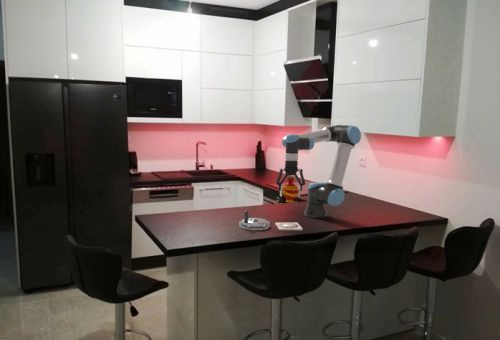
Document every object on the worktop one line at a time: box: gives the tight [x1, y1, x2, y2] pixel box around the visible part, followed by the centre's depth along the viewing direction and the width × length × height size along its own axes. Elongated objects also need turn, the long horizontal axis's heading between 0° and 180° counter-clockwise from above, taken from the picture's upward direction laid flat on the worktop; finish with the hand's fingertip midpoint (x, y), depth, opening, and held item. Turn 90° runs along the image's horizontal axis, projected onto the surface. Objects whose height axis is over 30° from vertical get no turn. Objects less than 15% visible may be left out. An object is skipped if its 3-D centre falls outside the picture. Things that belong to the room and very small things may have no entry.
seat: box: [275, 222, 303, 231], centre depth 253 cm, size 14×14×1 cm
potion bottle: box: [282, 176, 298, 204], centre depth 250 cm, size 10×10×15 cm
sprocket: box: [238, 210, 270, 228], centre depth 251 cm, size 19×17×9 cm
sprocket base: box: [238, 223, 271, 232], centre depth 252 cm, size 19×19×1 cm
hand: (289, 196), depth 251 cm, fingers closed on potion bottle, 10 cm apart
